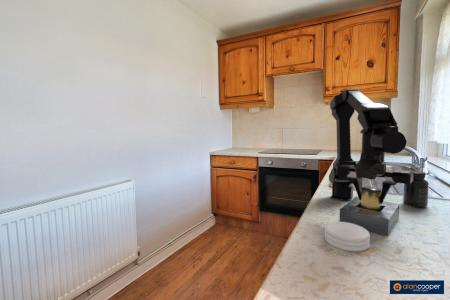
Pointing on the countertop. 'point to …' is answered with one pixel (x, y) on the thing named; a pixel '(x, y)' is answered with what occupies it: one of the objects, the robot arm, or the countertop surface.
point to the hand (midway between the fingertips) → (370, 201)
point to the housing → (371, 216)
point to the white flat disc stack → (347, 236)
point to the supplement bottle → (416, 191)
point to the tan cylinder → (370, 198)
